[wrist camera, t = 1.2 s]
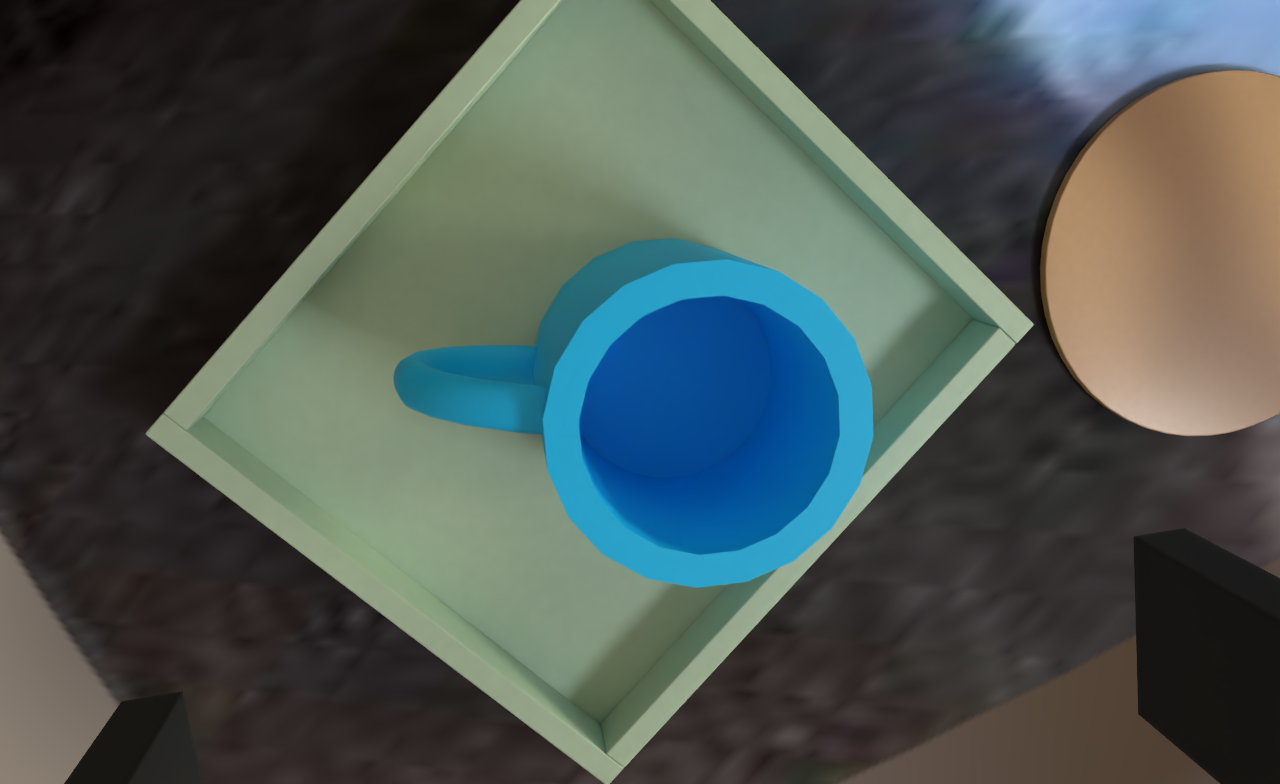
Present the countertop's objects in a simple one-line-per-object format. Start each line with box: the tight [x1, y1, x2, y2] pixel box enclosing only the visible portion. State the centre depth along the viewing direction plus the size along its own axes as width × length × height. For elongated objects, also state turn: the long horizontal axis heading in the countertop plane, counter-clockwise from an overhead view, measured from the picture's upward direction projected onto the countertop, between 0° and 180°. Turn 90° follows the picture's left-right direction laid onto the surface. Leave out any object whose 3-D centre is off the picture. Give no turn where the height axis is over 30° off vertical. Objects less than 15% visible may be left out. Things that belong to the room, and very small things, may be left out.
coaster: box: [1040, 70, 1280, 436], centre depth 37 cm, size 12×12×1 cm
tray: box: [146, 0, 1033, 784], centre depth 34 cm, size 20×18×2 cm
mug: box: [393, 238, 874, 588], centre depth 31 cm, size 12×8×8 cm
